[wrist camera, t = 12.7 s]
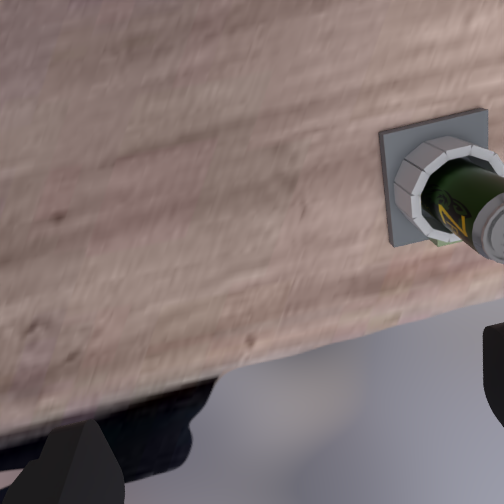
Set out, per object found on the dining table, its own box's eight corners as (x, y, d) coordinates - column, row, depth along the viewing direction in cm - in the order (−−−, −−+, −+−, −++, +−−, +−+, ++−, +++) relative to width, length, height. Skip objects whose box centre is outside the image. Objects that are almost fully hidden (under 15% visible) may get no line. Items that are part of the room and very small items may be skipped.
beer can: (443, 139, 40) (530, 176, 29) (478, 178, 42) (573, 227, 31) (397, 185, 41) (463, 236, 30) (433, 220, 43) (508, 281, 32)
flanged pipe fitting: (378, 132, 40) (400, 144, 36) (480, 107, 40) (516, 116, 35) (389, 242, 45) (410, 266, 40) (481, 221, 45) (512, 242, 40)
